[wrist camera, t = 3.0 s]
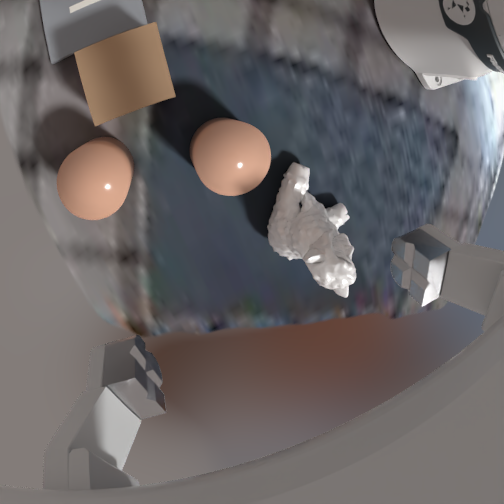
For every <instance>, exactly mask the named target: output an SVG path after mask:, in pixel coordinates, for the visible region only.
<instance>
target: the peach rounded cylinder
mask: <svg viewBox="0 0 504 504" xmlns="http://www.w3.org/2000/svg"><path fill="white" fill-rule="evenodd" d="M133 174H134V161H133V157H132V155H131V153H130V151H129V149H128V148H127V147H126V146H125V145H124V144H123V143H122V142H120V141H119V140H117V139H114V138H111V137H98V138H95V139H92V140H90V141H88V142H87V143H85V144H83V145H82V146H80V147H79V148H77V149H76V150H74V151H73V152H71V153H70V154H69V155H68V156H67V157H66V158H65V160H64V161H63V163H62V164H61V166H60V169H59V172H58V176H57V190H58V194H59V197H60V199H61V201H62V203H63V204H64V206H65V207H66V208H67V209H68V210H69V211H70V212H71V213H72V214H74V215H76V216H78V217H80V218H83V219H87V220H98V219H103V218H106V217H108V216H110V215H111V214H113V213H114V212H116V211H117V210H118V209H119V208H120V206H121V205H122V204H123V202H124V200H125V198H126V196H127V193H128V190H129V187H130V184H131V181H132V178H133Z"/></svg>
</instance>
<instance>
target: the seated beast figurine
mask: <svg viewBox="0 0 504 504" xmlns="http://www.w3.org/2000/svg"><path fill="white" fill-rule="evenodd" d="M309 174H310V172H309V168H308V167H306V166H303V165H301V164H297V163H295V162H293V163H292V164H291V165H290V166H289V168H288V170H287V172H286V173H284V174H283V176H284V179H283V180H282V182H281V187H280V188H279V193H278V194H277V196H276V204H275V205H274V206H273V212H272V215H271V217H270V219H269V224H268V225H267V228H268V232H269V233H268V240H269V244H270V245H271V246H272V247H273V249H274V251H275V252H278V253H279V255H280V256H286V257H287V258H288V259H289V260H292V259H293V258H295V259H298V258H300V259H303V260H304V261H305V263H306V265H307V267H308V269H309V270H310V272H311V273H312V275H313V279H316V281H317V283H318V284H319V285H321V286H323V287H325V288H328V289H333V290H334V291H335V292H336V293H337V294H338V295H340V296H342V297H345V298H346V297H348V293H349V286H348V285H350V284H353V283H354V282H355V279H356V272H355V270H356V269H355V267H354V264H353V262H352V261H351V258H352V253H353V251H354V247H353V246H351V244H350V242H349V241H348V237H347V235H345V234H344V233H342V234H339V232H338V228H339V227H340V226H341V225H343V224H344V222H346V221H347V220H348V219H349V215H347V213H348V212H347V209H346V208H345V206H344V205H343V204H342V203H338V204H336V205H334V206H333V207H331V208H330V207H328V208H327V209H325V207H324V205H323V204H322V203H319V202H318V201H316V200H315V197H314V196H312V195H311V194H310V193H309V192H308V191H306V190H307V189H308V188H309V184H308V181H309ZM299 203H301V204H302V208H301V209H300V206H299Z"/></svg>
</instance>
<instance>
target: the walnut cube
mask: <svg viewBox="0 0 504 504" xmlns="http://www.w3.org/2000/svg"><path fill="white" fill-rule="evenodd" d="M74 54H75V58H76V62H77V66H78V70H79V74H80V78H81V81H82V85H83V89H84V92H85V96H86V99H87V102H88V106H89V109H90V112H91V116H92V119H93V122H94V125H95V126H98V125H100V124H102V123H105V122H107V121H109V120H112V119H114V118H117V117H119V116H122V115H124V114H127V113H130V112H132V111H135V110H138V109H140V108H143V107H146V106H149V105H152V104H155V103H158V102H161V101H164V100H167V99H170V98H173V97H176V95H175V92H174V88H173V84H172V81H171V77H170V73H169V70H168V66H167V62H166V58H165V55H164V51H163V47H162V43H161V39H160V35H159V31H158V27H157V23H156V22H154V23H150V24H147V25H144V26H141V27H138V28H134V29H132V30H129V31H126V32H123V33H120V34H117V35H115V36H112V37H109V38H107V39H104V40H102V41H99V42H97V43H95V44H92V45H90V46H88V47H85V48H83V49H81V50H79V51H76V52H74Z"/></svg>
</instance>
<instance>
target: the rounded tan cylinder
mask: <svg viewBox="0 0 504 504" xmlns="http://www.w3.org/2000/svg"><path fill="white" fill-rule="evenodd" d="M190 158H191V161H192V163H193V165H194V167H195V169H196V171H197V173H198V176H199V177H200V179H201V181H202V182H203V183H204V184H205V185H206V186H207V187H208V188H209V189H210V190H212V191H214V192H216V193H218V194H221V195H227V196H235V195H241V194H244V193H247V192H249V191H251V190H252V189H254V188H255V187H256V186H258V185H259V184H260V183H261V182H262V180H263V179H264V178H265V176H266V174H267V172H268V170H269V167H270V162H271V151H270V147H269V144H268V141H267V139H266V138H265V136H264V135H263V134H262V133H261V132H260V131H259V130H258V129H257V128H255V127H254V126H252V125H250V124H247V123H244V122H241V121H238V120H234V119H231V118H224V117H222V118H215V119H212V120H209V121H207V122H205V123H204V124H202V125H201V126H200V127H199V128H198V129H197V130H196V132H195V133H194V135H193V137H192V139H191V142H190Z"/></svg>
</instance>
